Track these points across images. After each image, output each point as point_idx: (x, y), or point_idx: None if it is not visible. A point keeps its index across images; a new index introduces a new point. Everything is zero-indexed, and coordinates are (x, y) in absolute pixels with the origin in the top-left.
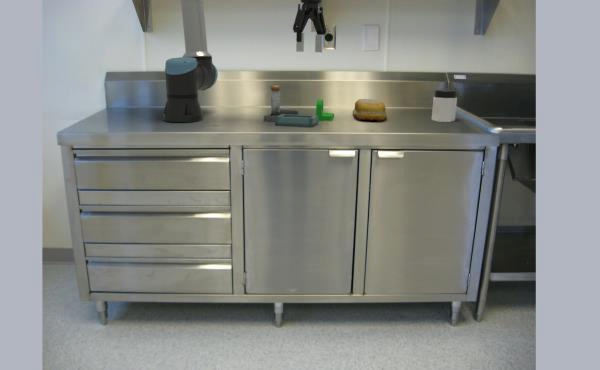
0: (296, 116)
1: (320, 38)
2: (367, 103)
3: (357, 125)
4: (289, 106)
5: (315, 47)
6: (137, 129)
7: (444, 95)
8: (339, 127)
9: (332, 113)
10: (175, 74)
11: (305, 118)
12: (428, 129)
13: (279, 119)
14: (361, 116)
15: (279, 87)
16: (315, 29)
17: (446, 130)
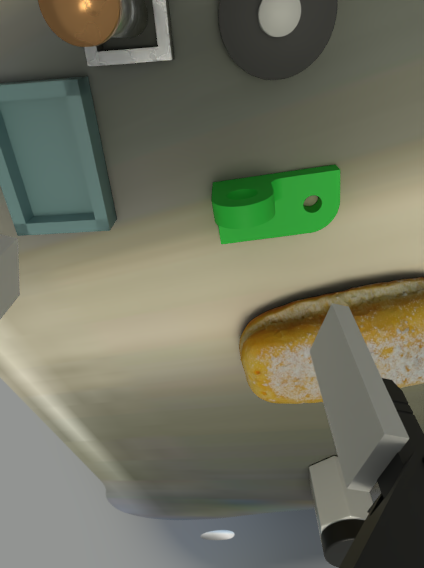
0: (80, 147)
1: (340, 440)
2: (262, 371)
3: (150, 326)
4: (297, 22)
5: (341, 332)
6: None
7: (322, 540)
8: (79, 293)
9: (321, 223)
10: None
11: (10, 212)
12: (165, 455)
13: None
14: (243, 331)
15: (69, 42)
16: (386, 500)
17: (168, 478)
